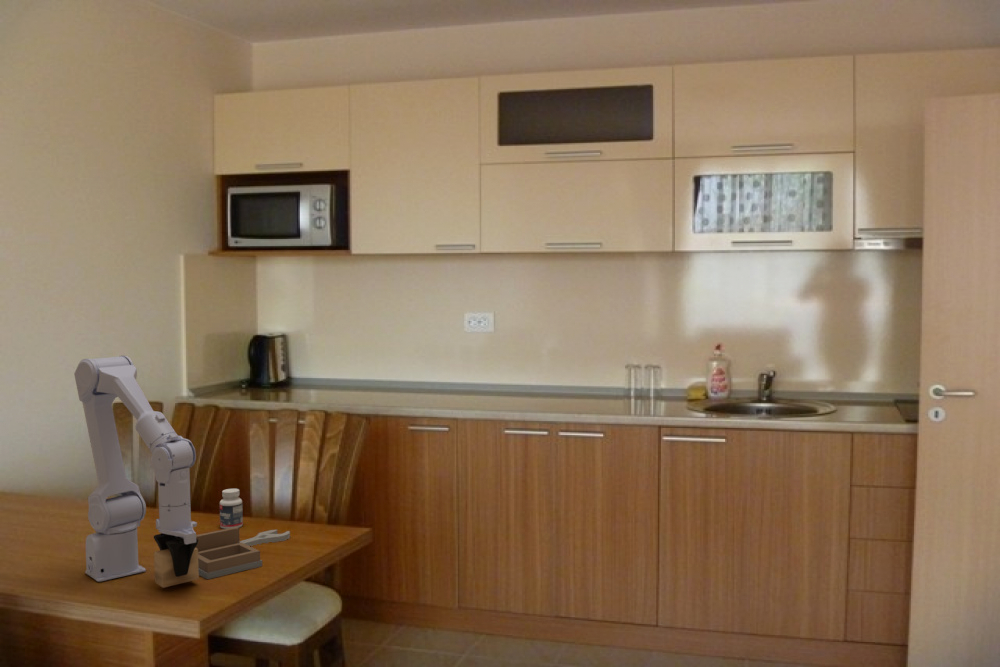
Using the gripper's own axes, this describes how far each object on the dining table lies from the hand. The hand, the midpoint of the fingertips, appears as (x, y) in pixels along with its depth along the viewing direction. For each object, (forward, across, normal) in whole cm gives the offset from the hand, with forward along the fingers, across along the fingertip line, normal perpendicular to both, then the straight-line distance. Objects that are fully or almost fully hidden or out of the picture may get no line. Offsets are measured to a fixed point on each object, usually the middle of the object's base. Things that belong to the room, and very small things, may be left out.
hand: (176, 572), depth 172 cm
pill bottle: (+3, +33, -27) cm, 43 cm away
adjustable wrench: (+3, +16, -20) cm, 26 cm away
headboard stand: (+3, +6, -12) cm, 14 cm away
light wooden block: (+2, 0, 0) cm, 2 cm away
